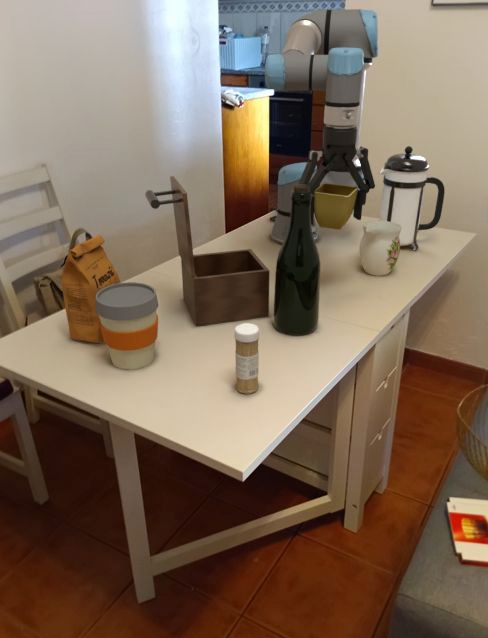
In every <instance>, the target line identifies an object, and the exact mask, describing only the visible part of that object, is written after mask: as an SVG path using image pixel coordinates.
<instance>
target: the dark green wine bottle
mask: <svg viewBox="0 0 488 638" xmlns="http://www.w3.org/2000/svg"><path fill="white" fill-rule="evenodd" d="M311 200H312V193H311V191H310V186H309V185H306V184H297V185H295V186H294V191H292V194H291V214H290V222H289V228H288V231H287V234H286V237H285V239H284V242H283V244H281V246H280V249H279V252H278V254H277V258H276V263H275V265H276V266H275V273H274V293H273V326H274V327H275V329H277V331H279V332H280V333H283V334H287V335H291V336H302V335H307V334H310V333H312V332H314V331H315V330H316V329H318V328H317V327H318V326H319V314H320V295H321V257H320V253H319V249H318V246H317V243H316V242H315V240H314V237H313V233H312V228H311Z"/></svg>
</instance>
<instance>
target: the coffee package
mask: <svg viewBox="0 0 488 638" xmlns="http://www.w3.org/2000/svg"><path fill="white" fill-rule="evenodd" d="M105 242H106V241H105V239H104V237H103V235H102V234H98V235H97V236H94V237H91V238H90V239H87V240H84V241H82V242H80V243H78V244H77V245H75V246H74V247H73V248H72V249H70V250H69V251H68V254H67V257H66V258H65V259H66V260H65V263H64V266H63V269H62V273H61V285H62V286H61V287H62V295H63V296H62V297H63V304H64V309H65V314H66V319H67V324H68V329H69V335H70V338H71V339H72V340H77V341H78V340H82V341H86V342H88V343H102V342H103V341H104V339H103V335H102V332H101V328H100V325H99V320H100V317H99V314H98V313H97V312H96V294H97V293H98V292H99V291H100V290H101V289H103V288H105V287H107V286H110V285H114V284H118V283H121V280H120V276H119V274H118V272H117V270H116V268H115V267H114V264H113V263H112V261H111V260H110V259H109V258H108V256H107V254H106V251H105V250H104V247H103V246H102V245H104V243H105Z"/></svg>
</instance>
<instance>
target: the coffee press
mask: <svg viewBox="0 0 488 638" xmlns="http://www.w3.org/2000/svg"><path fill="white" fill-rule="evenodd" d="M413 151H414V150H413V147H412V146H410V145H408V146H406V147H405V149H404V152H405V153H396V154H393V155H391V156H389V157H388V158H387V160H386V162H385V163H384V165H383V167H382V168H381V169H380V171H379V173H378V174H379V175H383V179H382V183H383V187H382V195H381V205H380V211H379V213H380V214H379V220H378V221H389V222H393V223H396V224H398V225H400V226H401V232H400V234H399V240H400V247H403V246H404V247H405V246H409V247H410V249H411V250H412V251H416V250H418V249H419V244H418V243H417V238H418V233H419V231H427V230H431V229H433V228H435V227H436V226H437V225H438V224H439V222H440V220H441V217H442V211H443V205H444V199H445V191H446V190H445V185H444V183H443V181H442V180H440V179H439V178H437V177H434V176H430V177H427V175H428V174H427V173H428V171H429V168H430V165H429V164H428V160H427V159H426V157H424V156H422V155H420V154H414V153H413ZM427 184H431V185H435V186H436V187H437V198H436V204H435V208H434V215H433V219H432V220H431V221H430V222H428V223H420V219H421V215H422V206H423V201H424V193H425V187H426V186H427Z"/></svg>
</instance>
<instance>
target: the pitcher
mask: <svg viewBox="0 0 488 638" xmlns="http://www.w3.org/2000/svg"><path fill="white" fill-rule="evenodd" d="M362 228H363V235H362V237H361V240H360V244H359V259H360V264H361V266H362V268H363V270H364V271H365V273H367V274H368V275H371V276H375V277H376V276H377V277H380V276H381V277H383V276H386V275H389V273H390V272H391V271H392V270H393V269H394V267H395V266H396V264H397V261H398V259H399V256H400V251H401V246H400V240H399V234H400V232H401V226H400V225H398V224H396V223H393V222H389V221H379V220H371V221H366V222H364V223H363V225H362Z"/></svg>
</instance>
